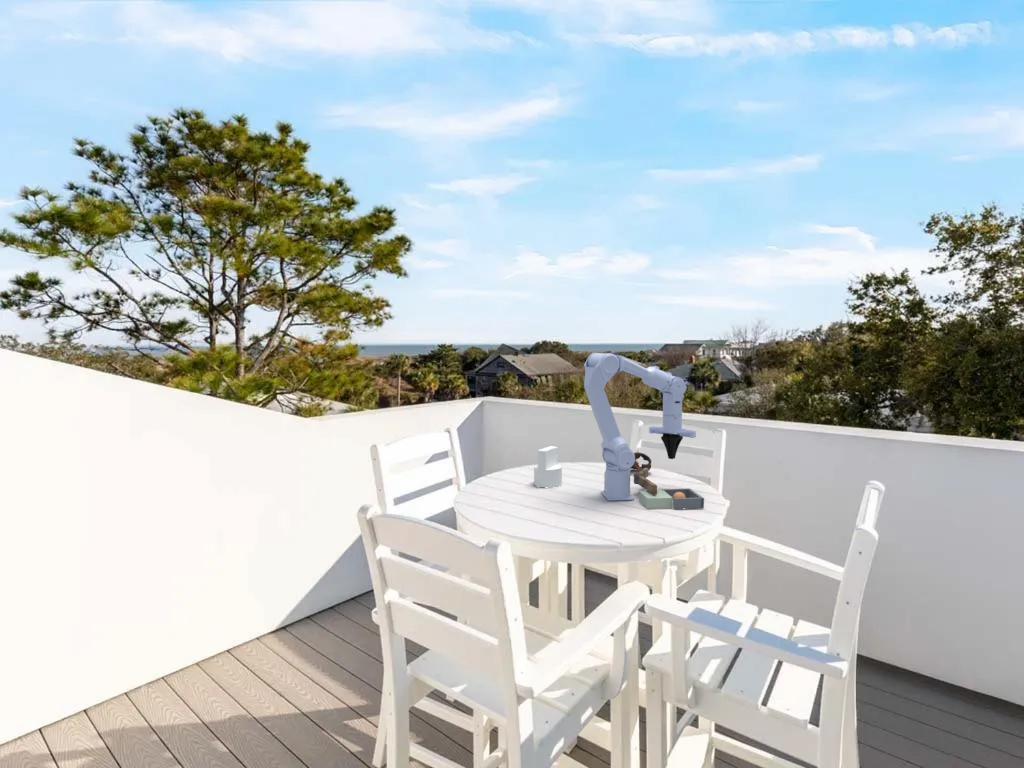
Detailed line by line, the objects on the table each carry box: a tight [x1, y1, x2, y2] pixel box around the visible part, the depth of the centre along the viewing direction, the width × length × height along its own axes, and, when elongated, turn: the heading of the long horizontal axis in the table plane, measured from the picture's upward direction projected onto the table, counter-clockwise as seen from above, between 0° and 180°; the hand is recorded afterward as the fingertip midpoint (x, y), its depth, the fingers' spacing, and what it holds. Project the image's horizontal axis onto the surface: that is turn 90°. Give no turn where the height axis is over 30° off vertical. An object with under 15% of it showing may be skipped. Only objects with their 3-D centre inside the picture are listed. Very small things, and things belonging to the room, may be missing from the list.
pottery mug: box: [631, 451, 652, 473], centre depth 210 cm, size 12×10×8 cm
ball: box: [673, 492, 686, 498], centre depth 171 cm, size 4×4×4 cm
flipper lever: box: [633, 468, 658, 495], centre depth 181 cm, size 23×6×3 cm, turn 174°
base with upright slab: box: [533, 445, 563, 489], centre depth 194 cm, size 9×9×12 cm
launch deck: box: [638, 489, 673, 510], centre depth 171 cm, size 8×7×3 cm
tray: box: [661, 487, 705, 510], centre depth 172 cm, size 11×8×3 cm
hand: (671, 458), depth 184 cm, fingers closed
